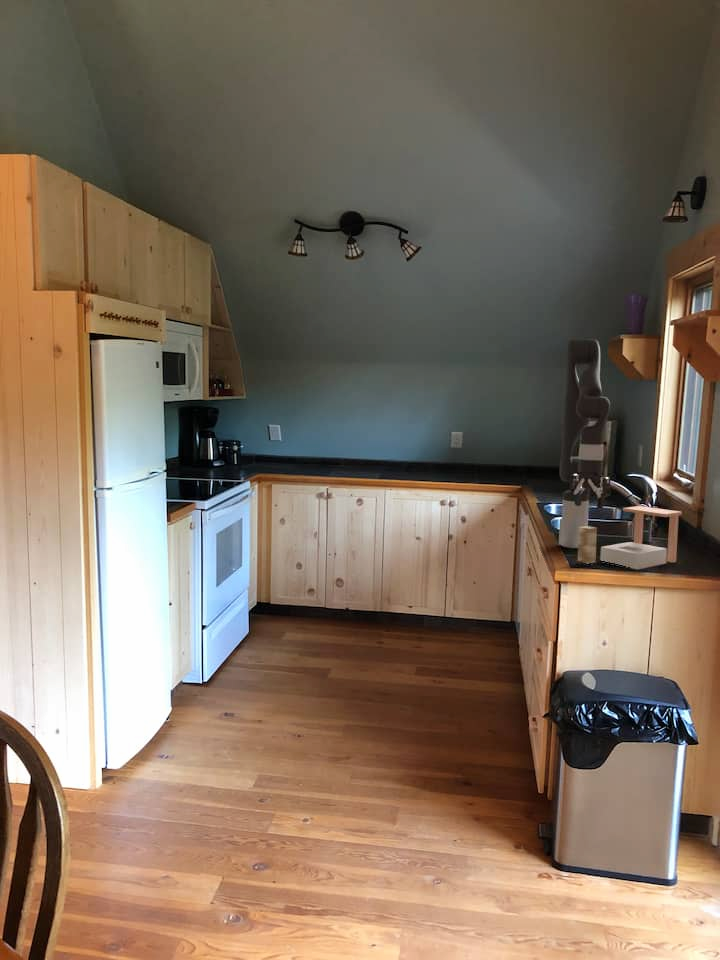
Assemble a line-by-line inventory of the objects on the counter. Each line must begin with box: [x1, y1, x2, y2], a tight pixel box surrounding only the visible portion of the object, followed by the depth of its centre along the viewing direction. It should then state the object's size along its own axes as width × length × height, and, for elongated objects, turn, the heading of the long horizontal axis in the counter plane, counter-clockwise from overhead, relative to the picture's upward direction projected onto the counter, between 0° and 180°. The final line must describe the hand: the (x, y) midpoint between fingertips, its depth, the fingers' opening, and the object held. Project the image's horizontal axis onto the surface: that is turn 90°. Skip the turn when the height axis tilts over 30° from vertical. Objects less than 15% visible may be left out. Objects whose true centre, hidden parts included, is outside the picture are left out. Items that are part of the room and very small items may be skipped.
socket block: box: [599, 541, 668, 570], centre depth 245 cm, size 14×16×5 cm
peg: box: [577, 525, 598, 564], centre depth 243 cm, size 4×4×12 cm
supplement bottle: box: [631, 514, 653, 543], centre depth 282 cm, size 7×7×12 cm
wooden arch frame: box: [622, 505, 683, 563], centre depth 249 cm, size 16×10×17 cm, turn 35°
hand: (588, 507), depth 241 cm, fingers open, 8 cm apart
